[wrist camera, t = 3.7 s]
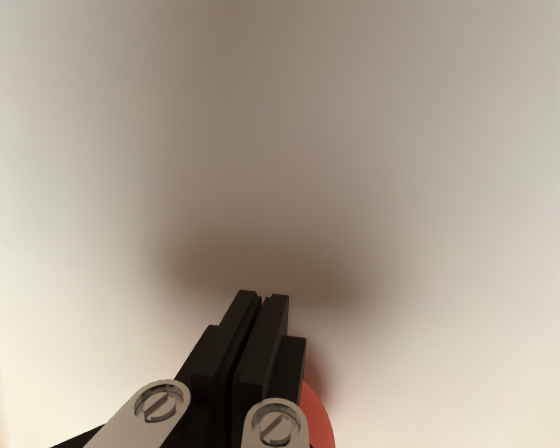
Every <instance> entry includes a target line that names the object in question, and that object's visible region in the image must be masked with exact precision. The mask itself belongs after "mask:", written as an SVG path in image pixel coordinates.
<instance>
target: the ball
mask: <svg viewBox="0 0 560 448" xmlns="http://www.w3.org/2000/svg"><path fill="white" fill-rule="evenodd" d="M299 408H300V409H301V410H302V411H303V413H304V415H305V416H306V419H307V423H308V433H309V443H310V444H311V445H312V446H313V447H314V448H335V441H334V435H333V429H332V426H331V423H330V420H329V417H328V414H327V412H326V410H325V408H324V406H323V404H322V402H321V401H320V399H319V398H318V396H317V395H316V394H315V392H314V391H313V390H312V388H311V387H310V386H309V385H308V384H307V383H305V382H304V381H303V382H302V390H301V397H300V405H299Z"/></svg>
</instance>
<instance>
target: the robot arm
mask: <svg viewBox="0 0 560 448" xmlns="http://www.w3.org/2000/svg"><path fill="white" fill-rule="evenodd" d="M288 307H289V296H288V295H280V294H272V296H271V298H269V297H266V298H265V300H264V303H263V305H262V297H261V296H257V293H256V291H248V290H239V292H238V293H237V295H236V297H235V299H234V300H233V302H232V304H231V305H230V307H229V309H228V310H227V312H226V314H225V316H224V317H223V319H222V321H221V322H220V324H219V326H216V325H209V326H208V327H207V328H206V330H205V331H204V333H203V335H202V336H201V338H200V339H199V341H198V342H197V344H196V346H195V347H194V349H193V350H192V352H191V353H190V355H189V356H188V358H187V360H186V361H185V363H184V364H183V366H182V367H181V369H180V371H179V372H178V374H177V375H176V377H175V378H174V380H171V379H166V380H158V381H155V382H152V383H149V384H148V385H146V386H144V387H142V388H141V389H140V390H138V391H137V392H136V393H135V394H134V395H133V396H132V397H131V398H130V399H129V400H128V401H127V402H126V403H125V404H124V405H123V406H122V407H121V408H120V409H119V410H118V411H117V413H116V414H115V415H114V416H113V417H112V418H111V419H110V420H109V421H108V422H107V423H106V424H103V425H101V426H99V427H97V428H94V429H92V430H90V431H87V432H85V433H83V434H80V435H78V436H76V437H74V438H71V439H69V440H67V441H64V442H62V443H60V444H58V445H55V446H53V447H51V448H314V447H313V446H312V445H311V444H310V443H309V433H308V423H307V419H306V416H305V415H304V413H303V411H302V410H301V409H300V408H299V405H300V397H301V390H302V382H303V373H304V363H305V352H306V338H300V337H293V336H287V323H288Z"/></svg>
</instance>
